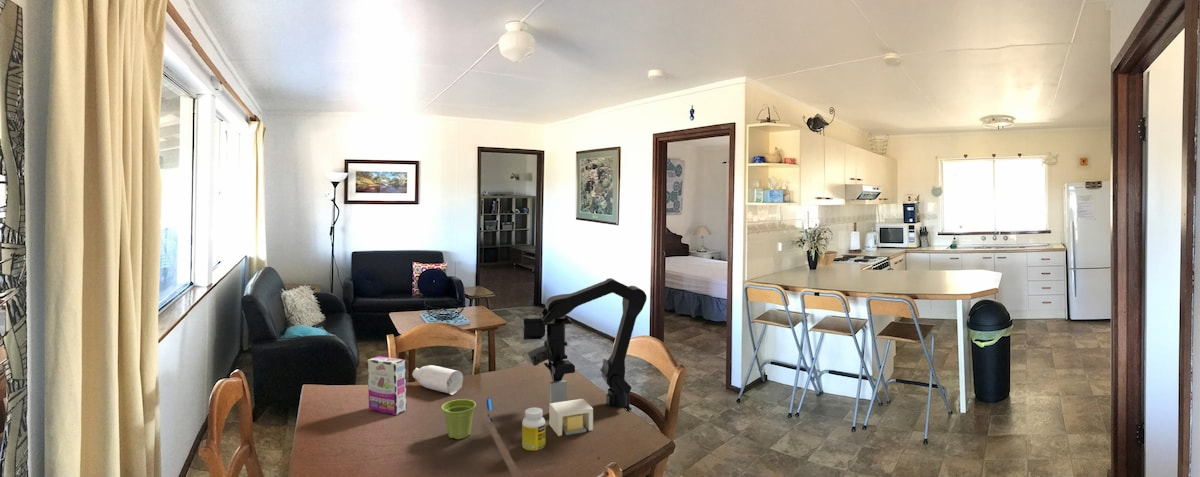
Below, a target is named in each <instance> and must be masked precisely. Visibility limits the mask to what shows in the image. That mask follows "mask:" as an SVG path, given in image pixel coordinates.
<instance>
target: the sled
mask: <svg viewBox="0 0 1200 477" xmlns="http://www.w3.org/2000/svg"><path fill="white" fill-rule="evenodd" d="M563 401H568V381H567V380H566V379H562V380H561V381H554V382H552V381H549V403H556V402H563ZM586 432H587V428H586V427H585V426H584V425H583V429H578V430H572V431H567V430H566V429H565V428H564V427H563V426H562V433H564V434H565V436H569V435H575V434H581V433H586Z"/></svg>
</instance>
